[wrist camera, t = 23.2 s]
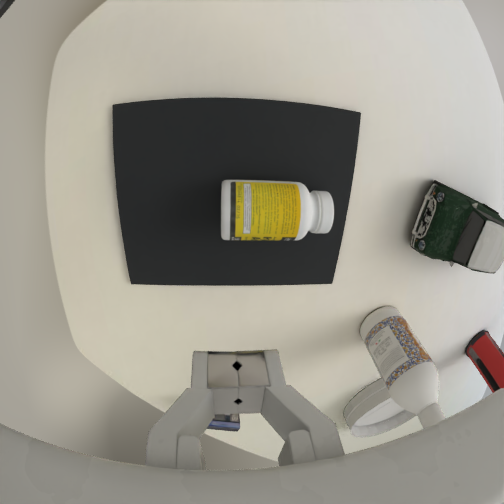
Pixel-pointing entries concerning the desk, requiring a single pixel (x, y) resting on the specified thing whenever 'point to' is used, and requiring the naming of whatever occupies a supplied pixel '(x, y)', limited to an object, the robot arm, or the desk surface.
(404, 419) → the dish
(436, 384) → the bath foam
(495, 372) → the speaker
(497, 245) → the miniature car
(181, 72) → the desk surface
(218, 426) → the mini dv tape
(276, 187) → the supplement bottle
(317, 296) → the desk surface
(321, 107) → the mat
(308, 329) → the desk surface
